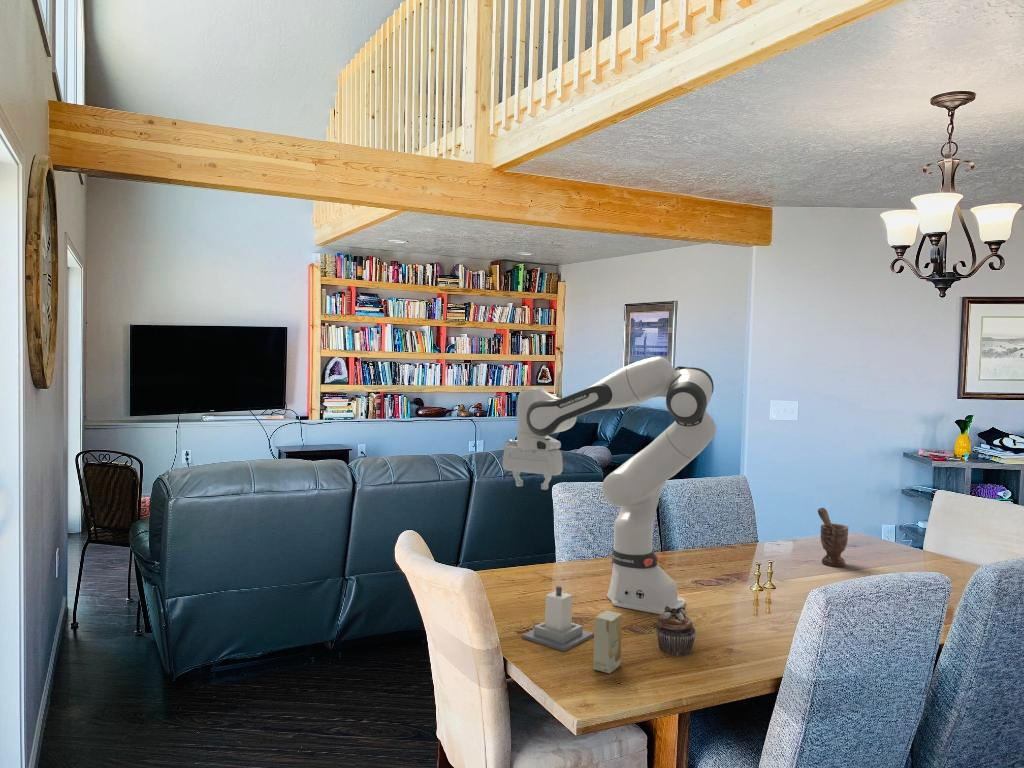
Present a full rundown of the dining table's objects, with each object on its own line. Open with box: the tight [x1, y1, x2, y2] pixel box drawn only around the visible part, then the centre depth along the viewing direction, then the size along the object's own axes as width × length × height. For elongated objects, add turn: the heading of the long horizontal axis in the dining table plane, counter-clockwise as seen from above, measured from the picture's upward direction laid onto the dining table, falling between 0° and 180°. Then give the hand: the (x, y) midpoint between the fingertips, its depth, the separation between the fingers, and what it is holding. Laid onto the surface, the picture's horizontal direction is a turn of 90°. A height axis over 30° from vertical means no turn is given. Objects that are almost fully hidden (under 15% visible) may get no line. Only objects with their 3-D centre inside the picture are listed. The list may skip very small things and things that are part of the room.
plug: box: [544, 585, 573, 633], centre depth 194 cm, size 5×4×12 cm
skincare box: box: [592, 610, 623, 674], centre depth 176 cm, size 6×4×12 cm
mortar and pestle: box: [817, 507, 849, 568], centre depth 259 cm, size 12×9×20 cm
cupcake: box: [655, 606, 697, 656], centre depth 187 cm, size 10×10×10 cm
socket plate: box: [521, 620, 594, 652], centre depth 194 cm, size 13×13×3 cm
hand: (531, 487), depth 230 cm, fingers open, 8 cm apart
